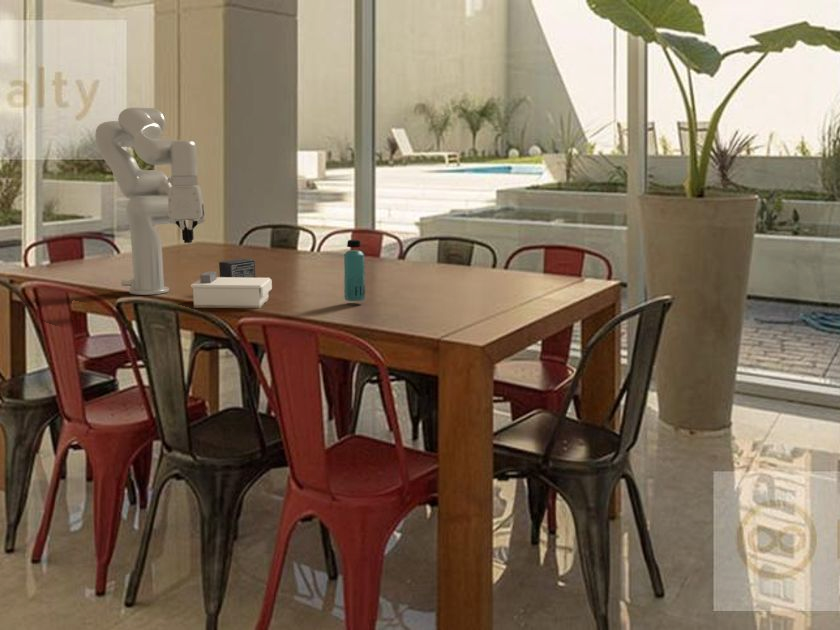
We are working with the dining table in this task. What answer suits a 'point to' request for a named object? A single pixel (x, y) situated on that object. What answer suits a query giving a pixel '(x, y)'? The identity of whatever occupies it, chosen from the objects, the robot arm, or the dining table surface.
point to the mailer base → (228, 297)
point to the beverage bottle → (354, 273)
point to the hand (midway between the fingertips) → (188, 242)
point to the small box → (237, 268)
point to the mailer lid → (232, 282)
